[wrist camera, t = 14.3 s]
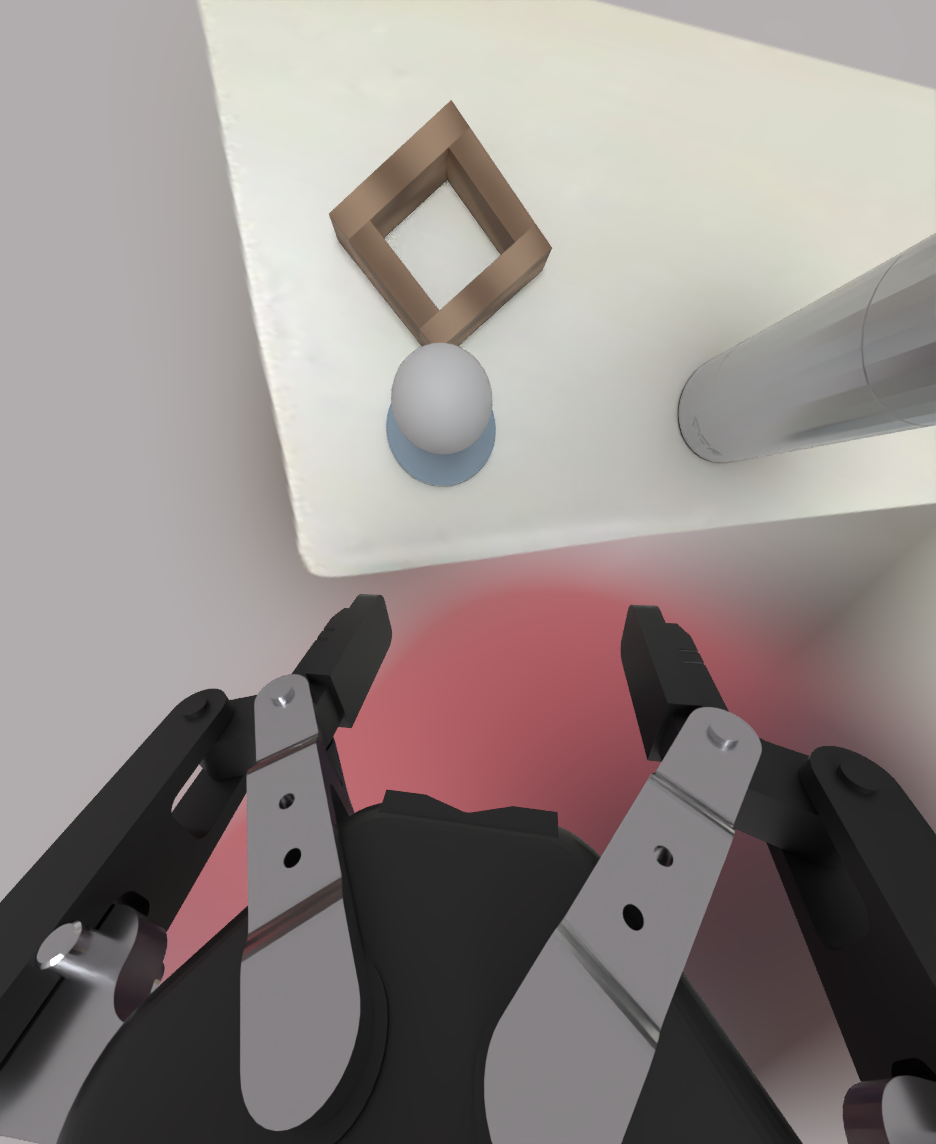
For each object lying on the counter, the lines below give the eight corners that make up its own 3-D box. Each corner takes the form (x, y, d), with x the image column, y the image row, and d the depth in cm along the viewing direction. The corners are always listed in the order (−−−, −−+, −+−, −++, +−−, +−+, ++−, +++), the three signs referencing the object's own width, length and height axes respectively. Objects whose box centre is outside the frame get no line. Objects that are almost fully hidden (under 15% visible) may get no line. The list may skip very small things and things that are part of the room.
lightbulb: (412, 476, 30) (399, 453, 20) (395, 400, 29) (371, 331, 18) (483, 462, 31) (509, 432, 20) (469, 386, 30) (488, 311, 19)
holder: (449, 136, 28) (451, 100, 25) (542, 270, 30) (552, 248, 27) (338, 240, 28) (328, 213, 26) (436, 364, 30) (437, 351, 28)
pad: (446, 352, 30) (446, 346, 29) (514, 439, 32) (517, 436, 31) (365, 424, 30) (362, 421, 29) (436, 507, 32) (437, 507, 31)
